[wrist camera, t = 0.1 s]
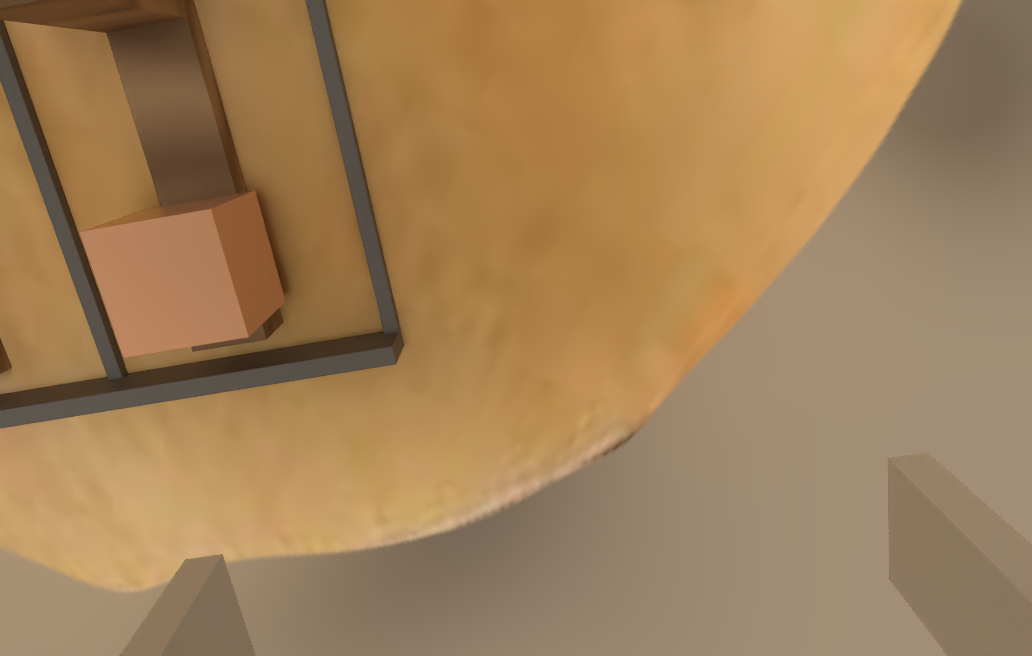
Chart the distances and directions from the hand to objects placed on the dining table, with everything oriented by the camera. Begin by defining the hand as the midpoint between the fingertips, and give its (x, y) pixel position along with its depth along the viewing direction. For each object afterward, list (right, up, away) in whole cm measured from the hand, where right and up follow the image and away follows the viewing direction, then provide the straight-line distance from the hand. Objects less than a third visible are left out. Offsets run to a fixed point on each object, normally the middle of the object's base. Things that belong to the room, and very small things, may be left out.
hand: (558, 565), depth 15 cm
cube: (-17, +8, +25) cm, 31 cm away
